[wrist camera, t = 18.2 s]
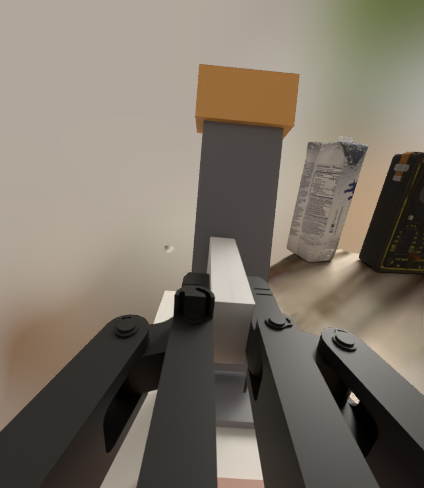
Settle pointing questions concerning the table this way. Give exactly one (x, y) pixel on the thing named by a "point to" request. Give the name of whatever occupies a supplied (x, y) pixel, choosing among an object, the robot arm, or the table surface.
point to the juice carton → (325, 197)
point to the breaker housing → (227, 431)
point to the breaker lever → (240, 163)
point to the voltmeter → (398, 219)
